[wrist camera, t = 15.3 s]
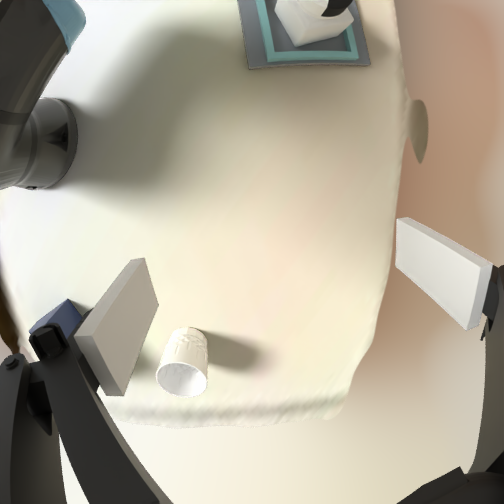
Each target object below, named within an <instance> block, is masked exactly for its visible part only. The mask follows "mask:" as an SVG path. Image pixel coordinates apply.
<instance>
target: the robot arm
mask: <svg viewBox="0 0 504 504" xmlns="http://www.w3.org/2000/svg"><path fill="white" fill-rule="evenodd" d="M85 24H86V17H85V14H84V12H83V10H82V8H81V7H80V6H79V4H78V3H77V2H76V1H75V0H0V190H2V189H5V188H8V187H11V186H16V187H20V188H24V189H28V190H40V189H43V188H47V187H50V186H52V185H54V184H55V183H57V182H58V181H59V180H60V179H61V178H62V177H63V176H64V175H65V174H66V172H67V171H68V169H69V167H70V166H71V163H72V161H73V159H74V156H75V152H76V147H77V125H76V121H75V118H74V115H73V113H72V112H71V110H70V109H69V107H68V106H67V105H66V104H65V103H63V102H62V101H60V100H58V99H54V98H48V97H41V98H40V96H41V94H42V93H43V91H44V89H45V87H46V86H47V84H48V82H49V81H50V79H51V77H52V76H53V74H54V73H55V71H56V69H57V68H58V66H59V65H60V63H61V62H62V60H63V59H64V57H65V56H66V55H68V54H69V52H70V51H71V47H72V45H73V44H74V42H75V41H76V39H77V38H78V36H79V35H80V33H81V32H82V31H83V29H84V27H85ZM396 235H397V236H396V262H395V266H396V267H397V268H398V269H399V270H400V271H401V272H403V273H404V274H405V275H406V276H407V277H409V278H410V279H411V280H412V281H413V282H414V283H415V284H416V285H418V286H419V287H420V288H421V289H422V290H423V291H424V292H425V293H427V294H428V295H429V296H430V297H431V298H432V299H433V300H434V301H436V303H437V304H439V305H440V306H441V307H442V308H443V309H444V310H445V311H446V312H447V313H448V314H449V315H450V316H451V317H452V318H454V319H455V321H457V322H458V323H459V324H460V325H461V326H462V327H463V328H464V329H465V330H466V331H467V330H470V329H472V328H474V327H476V326H478V325H479V322H480V319H481V315H482V313H484V314H485V315H486V316H487V320H486V323H485V327H484V330H483V333H482V336H481V341H482V340H483V338H484V337H485V339H486V365H485V366H486V367H485V388H484V402H483V411H482V419H481V427H480V433H479V439H478V445H477V450H476V455H475V459H474V462H473V464H472V466H471V468H470V470H469V472H468V473H467V474H464V473H463V471H462V469H461V468H460V467H458V468H456V469H454V470H452V471H450V472H449V473H447V474H445V475H443V476H441V477H439V478H437V479H435V480H433V481H431V482H429V483H426V484H424V485H422V486H421V487H420V488H418V489H417V490H416V491H414V492H413V493H412V494H410V495H409V496H407V497H406V498H404V499H403V500H401V501H400V502H398V503H397V504H504V265H502V266H500V267H499V268H497V267H496V266H494V265H493V264H492V263H491V262H489V261H487V260H486V259H484V258H482V257H481V256H479V255H477V254H476V253H474V252H472V251H471V250H469V249H467V248H465V247H464V246H462V245H460V244H458V243H457V242H455V241H453V240H451V239H449V238H448V237H446V236H444V235H442V234H440V233H438V232H436V231H435V230H433V229H430V228H429V227H427V226H425V225H423V224H421V223H419V222H417V221H415V220H413V219H411V218H409V217H405V218H398V219H397V234H396ZM158 306H159V304H158V301H157V298H156V295H155V292H154V288H153V285H152V282H151V278H150V275H149V272H148V268H147V265H146V261H145V258H139V259H133V260H130V262H129V263H128V264H127V265H126V267H125V268H124V269H123V270H122V272H121V273H120V274H119V276H118V277H117V278H116V279H115V281H114V282H113V283H112V284H111V286H110V287H109V288H108V290H107V291H106V292H105V294H104V295H103V296H102V298H101V299H100V300H99V302H98V303H97V304H96V306H95V307H94V308H92V309H91V310H90V311H88V312H87V313H86V314H85V315H84V316H83V317H82V319H81V320H80V323H78V324H77V325H76V328H74V330H73V331H72V332H71V334H70V335H69V337H68V338H67V339H66V337H65V335H64V333H63V331H62V329H61V327H60V325H59V324H58V323H48V324H45V325H43V326H41V327H39V328H37V329H36V330H35V331H34V332H33V333H32V334H31V335H30V337H29V342H30V344H31V346H32V347H33V349H34V351H35V353H36V355H37V356H38V358H39V360H40V361H37V362H33V363H28V362H27V360H26V358H25V356H24V355H23V354H20V353H17V354H13V355H10V356H8V358H5V359H4V361H3V362H2V364H1V365H0V504H67V502H66V496H65V489H64V482H63V475H62V466H61V457H60V444H59V434H60V437H61V440H62V443H63V445H64V448H65V451H66V453H67V456H68V458H69V461H70V463H71V466H72V468H73V470H74V472H75V475H76V477H77V479H78V481H79V484H80V486H81V488H82V490H83V492H84V494H85V496H86V498H87V500H88V502H89V504H173V503H172V502H171V500H170V499H169V498H168V497H167V496H166V495H165V493H164V492H163V491H162V490H161V489H160V487H159V486H158V485H157V483H156V482H155V481H154V480H153V478H152V477H151V476H150V474H149V473H148V472H147V470H145V468H144V466H143V465H142V464H141V462H140V461H139V460H138V458H137V457H136V455H135V454H134V452H133V451H132V449H131V448H130V447H129V445H128V444H127V442H126V441H125V439H124V437H123V436H122V434H121V433H120V431H119V430H118V428H117V426H116V425H115V423H114V422H113V420H112V418H111V416H110V415H109V413H108V411H107V409H106V408H105V406H104V404H103V402H102V401H101V399H100V397H99V396H98V394H97V389H98V387H99V385H100V386H101V388H102V389H103V391H104V393H105V394H106V396H124V394H125V392H126V389H127V386H128V383H129V380H130V378H131V375H132V372H133V369H134V367H135V364H136V361H137V359H138V356H139V353H140V351H141V348H142V346H143V343H144V341H145V338H146V335H147V333H148V330H149V328H150V325H151V323H152V320H153V318H154V316H155V313H156V311H157V308H158Z"/></svg>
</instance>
